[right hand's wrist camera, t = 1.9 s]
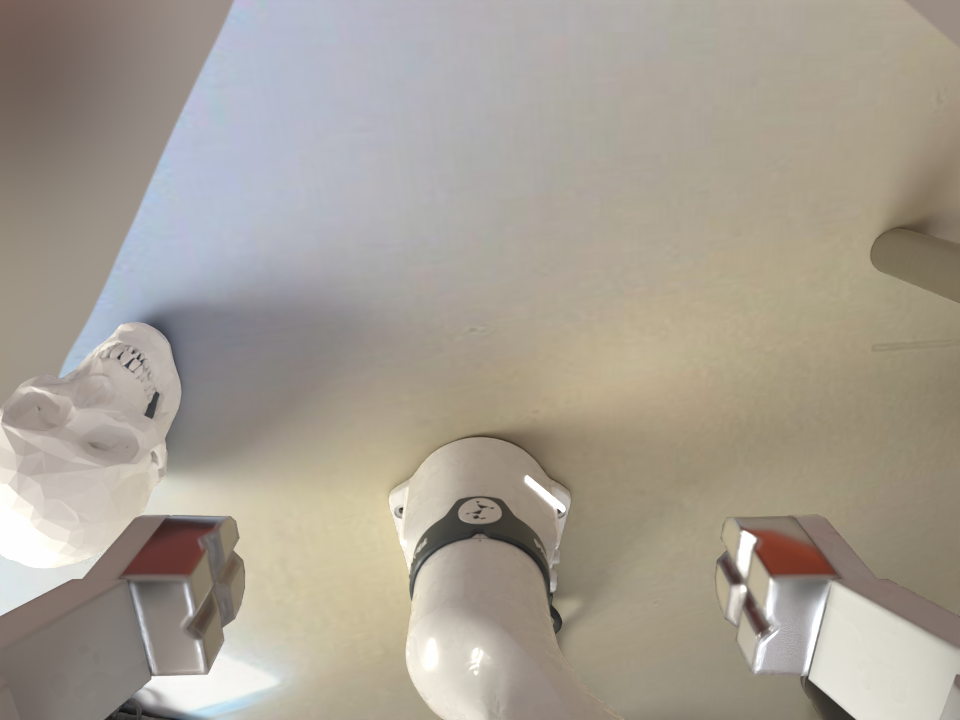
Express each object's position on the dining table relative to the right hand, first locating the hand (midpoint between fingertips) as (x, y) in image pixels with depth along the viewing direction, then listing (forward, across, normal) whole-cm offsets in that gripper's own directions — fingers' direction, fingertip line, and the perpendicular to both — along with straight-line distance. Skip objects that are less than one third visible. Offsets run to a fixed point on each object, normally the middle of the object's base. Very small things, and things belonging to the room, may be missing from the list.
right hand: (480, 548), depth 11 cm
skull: (+48, -35, -21) cm, 63 cm away
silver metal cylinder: (+48, +37, -5) cm, 61 cm away
